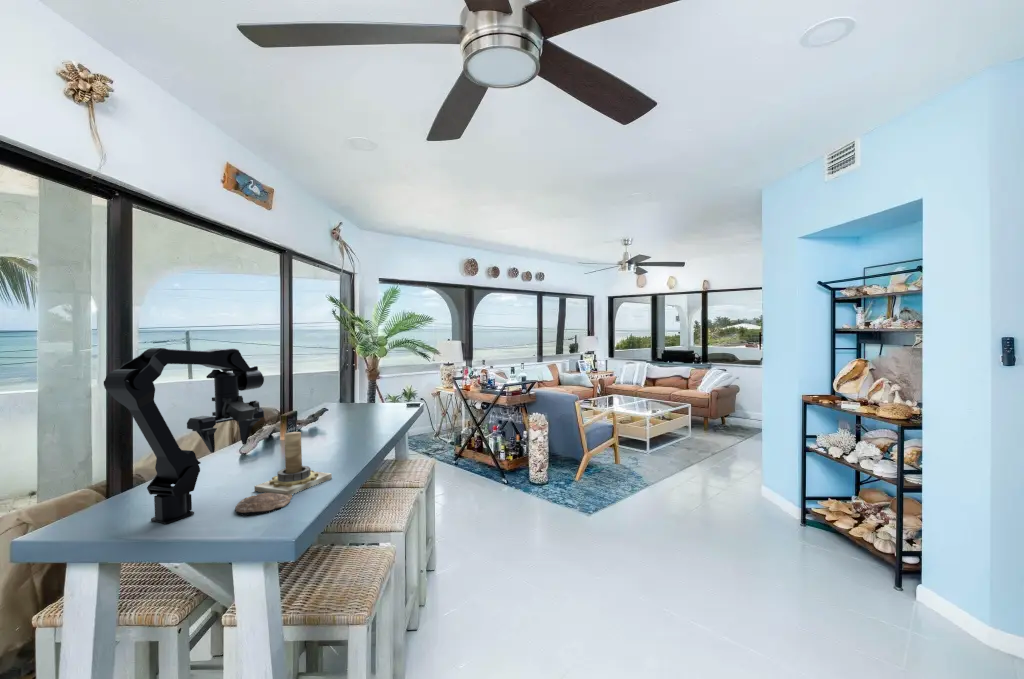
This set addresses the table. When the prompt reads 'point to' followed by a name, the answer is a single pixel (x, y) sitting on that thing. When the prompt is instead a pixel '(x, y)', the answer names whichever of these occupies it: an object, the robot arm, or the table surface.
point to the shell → (262, 503)
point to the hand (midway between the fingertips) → (228, 448)
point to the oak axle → (293, 452)
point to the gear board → (292, 481)
